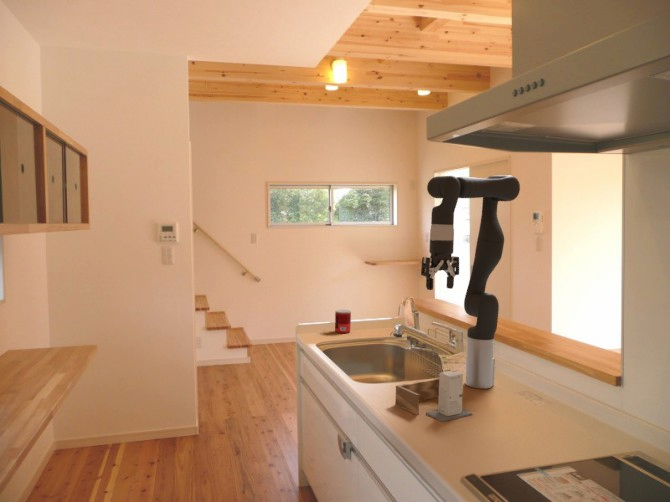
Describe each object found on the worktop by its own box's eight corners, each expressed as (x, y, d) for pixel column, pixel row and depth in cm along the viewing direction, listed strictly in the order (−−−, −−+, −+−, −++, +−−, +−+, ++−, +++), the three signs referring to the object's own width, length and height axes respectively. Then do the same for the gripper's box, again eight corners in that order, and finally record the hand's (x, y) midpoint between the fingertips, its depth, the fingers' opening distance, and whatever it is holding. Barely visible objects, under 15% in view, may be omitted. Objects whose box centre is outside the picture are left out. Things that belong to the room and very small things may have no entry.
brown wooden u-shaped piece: (438, 395, 178) (438, 377, 177) (459, 405, 169) (460, 386, 169) (395, 404, 168) (396, 385, 168) (416, 414, 160) (416, 395, 159)
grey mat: (455, 407, 167) (455, 406, 167) (471, 414, 161) (471, 413, 161) (425, 414, 160) (426, 412, 160) (442, 422, 155) (442, 420, 154)
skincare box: (447, 416, 157) (449, 376, 157) (437, 412, 161) (438, 372, 160) (462, 413, 161) (464, 373, 160) (451, 408, 164) (453, 369, 164)
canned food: (353, 332, 273) (354, 311, 272) (342, 334, 267) (343, 312, 266) (342, 329, 278) (342, 308, 277) (331, 331, 272) (332, 310, 272)
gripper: (449, 238, 178) (447, 286, 179) (416, 238, 171) (415, 288, 172) (466, 239, 172) (464, 289, 173) (432, 239, 164) (430, 291, 165)
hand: (439, 289), depth 172 cm, fingers open, 8 cm apart
